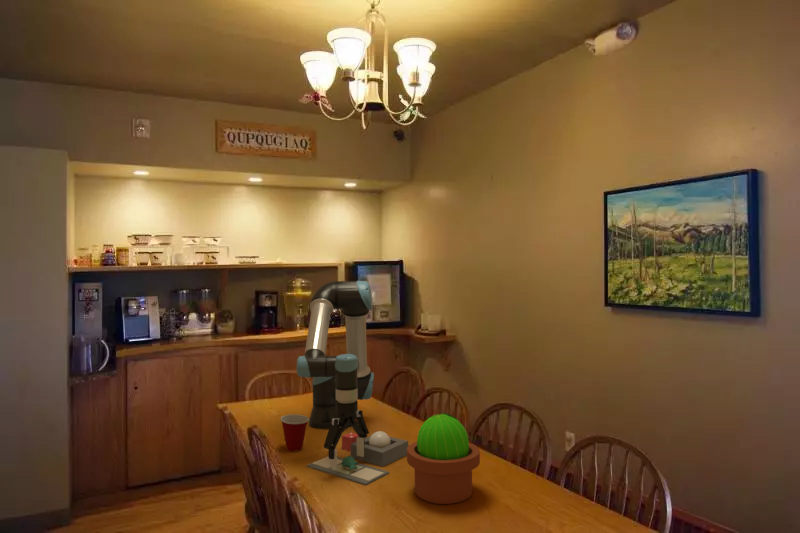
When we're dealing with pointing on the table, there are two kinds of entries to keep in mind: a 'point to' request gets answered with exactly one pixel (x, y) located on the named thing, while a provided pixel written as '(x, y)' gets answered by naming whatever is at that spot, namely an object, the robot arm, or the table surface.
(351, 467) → the turtle figurine
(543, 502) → the table surface
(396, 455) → the dome collar
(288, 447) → the plastic cup
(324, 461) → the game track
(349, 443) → the red die
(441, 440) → the potted cactus
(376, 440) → the white ball
